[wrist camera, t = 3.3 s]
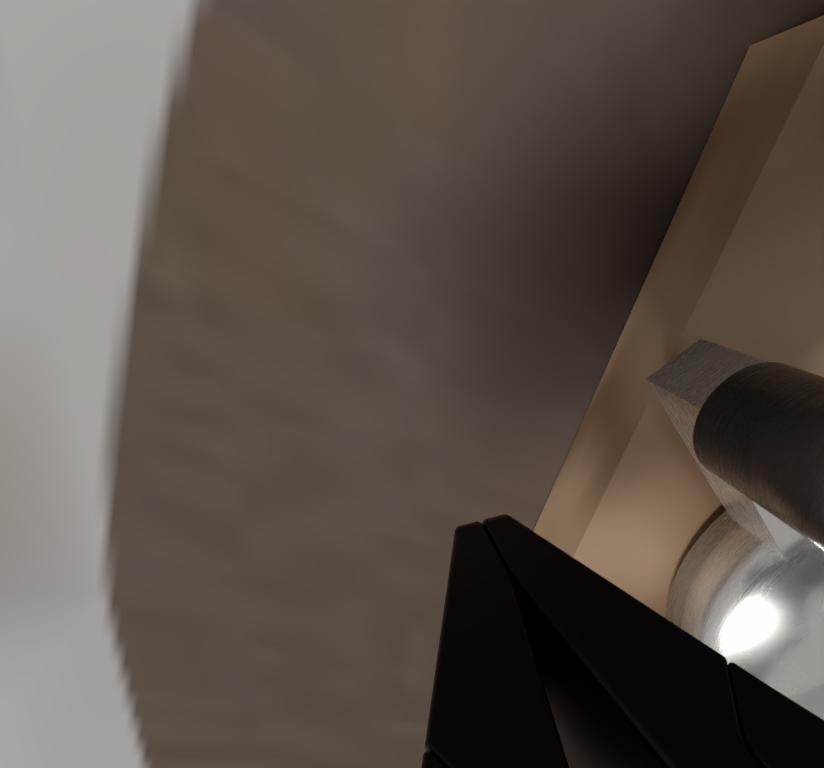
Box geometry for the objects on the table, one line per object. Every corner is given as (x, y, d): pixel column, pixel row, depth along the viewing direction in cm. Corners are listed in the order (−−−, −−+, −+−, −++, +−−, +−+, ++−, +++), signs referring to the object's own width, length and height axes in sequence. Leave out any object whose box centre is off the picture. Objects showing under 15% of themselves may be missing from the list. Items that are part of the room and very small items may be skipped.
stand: (729, 700, 19) (781, 765, 17) (466, 682, 16) (486, 757, 14) (1076, 209, 13) (1229, 208, 11) (750, 45, 10) (864, -2, 8)
